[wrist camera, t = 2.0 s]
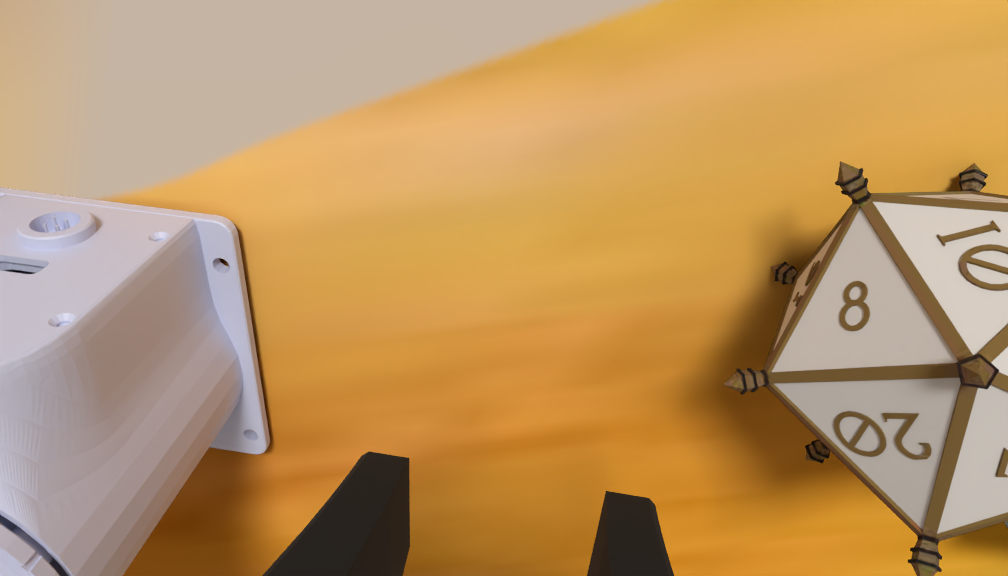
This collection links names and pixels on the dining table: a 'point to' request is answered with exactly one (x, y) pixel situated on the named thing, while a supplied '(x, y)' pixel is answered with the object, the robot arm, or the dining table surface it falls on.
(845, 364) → the game die
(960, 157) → the dining table surface
